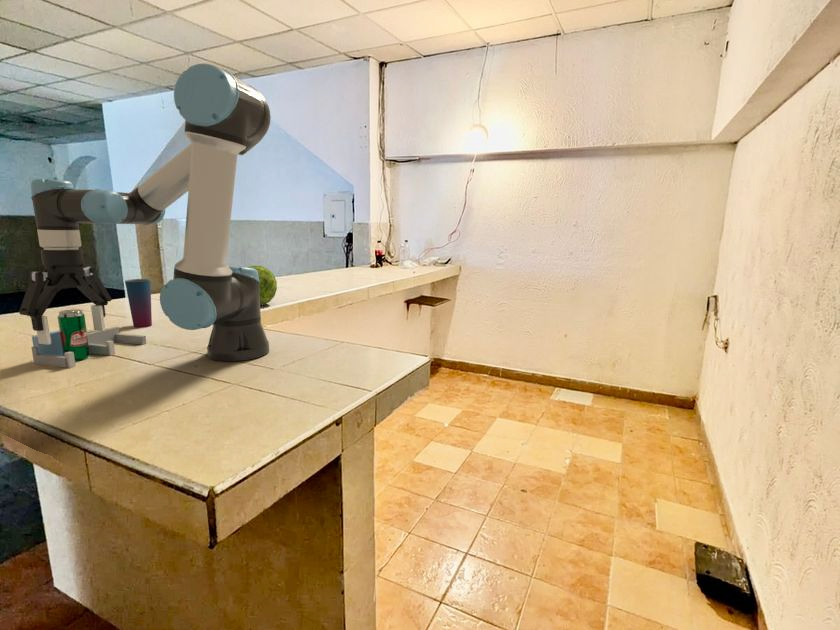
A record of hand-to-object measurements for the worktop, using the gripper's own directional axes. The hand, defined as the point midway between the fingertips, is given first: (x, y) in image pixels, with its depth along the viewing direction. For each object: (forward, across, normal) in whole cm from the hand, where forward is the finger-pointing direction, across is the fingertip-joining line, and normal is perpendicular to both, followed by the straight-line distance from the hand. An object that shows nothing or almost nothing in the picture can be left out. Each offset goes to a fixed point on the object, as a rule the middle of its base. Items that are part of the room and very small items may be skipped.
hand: (74, 336), depth 104 cm
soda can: (+6, 0, 0) cm, 6 cm away
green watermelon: (+6, -79, -4) cm, 79 cm away
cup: (+6, -32, -13) cm, 35 cm away
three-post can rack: (+6, -5, 0) cm, 8 cm away
